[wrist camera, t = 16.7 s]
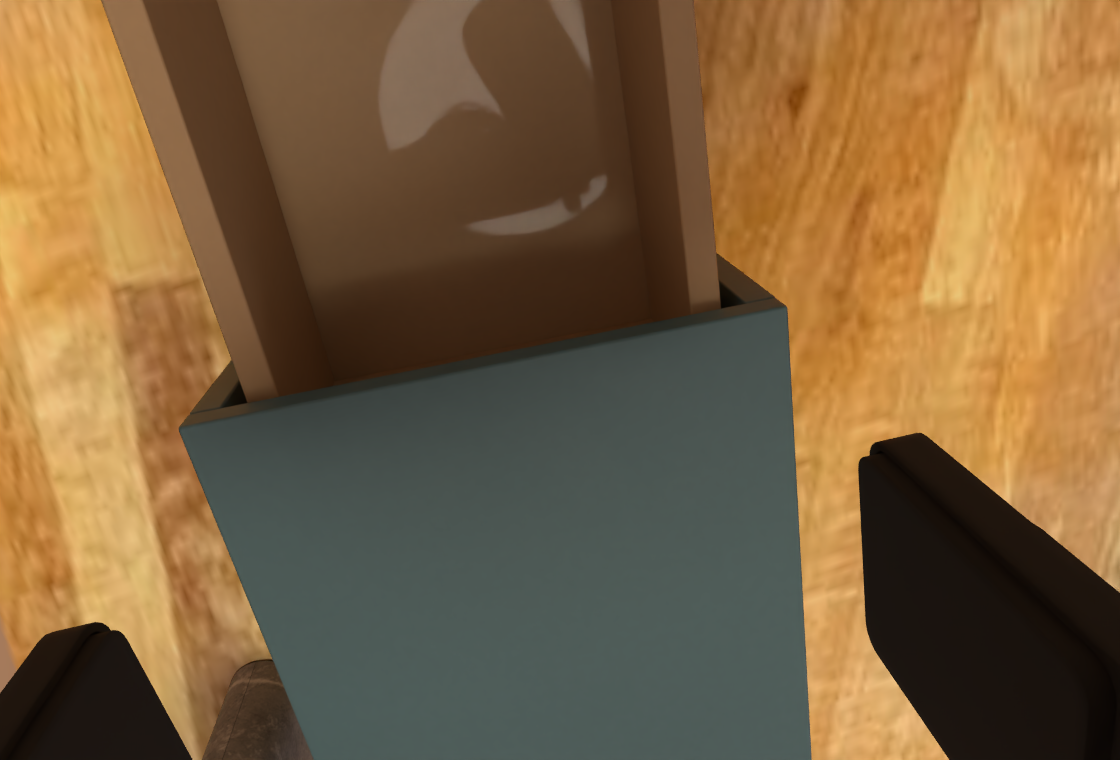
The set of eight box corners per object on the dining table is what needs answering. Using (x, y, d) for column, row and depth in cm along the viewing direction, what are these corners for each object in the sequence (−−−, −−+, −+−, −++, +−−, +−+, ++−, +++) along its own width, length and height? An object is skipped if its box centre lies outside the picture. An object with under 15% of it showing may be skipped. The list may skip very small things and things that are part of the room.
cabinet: (265, 316, 26) (175, 428, 18) (691, 233, 26) (788, 305, 18) (390, 688, 32) (366, 892, 24) (729, 615, 33) (814, 790, 25)
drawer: (46, -374, 18) (-175, -605, 12) (605, -461, 19) (676, -726, 12) (302, 398, 26) (250, 504, 20) (689, 321, 27) (758, 400, 20)
